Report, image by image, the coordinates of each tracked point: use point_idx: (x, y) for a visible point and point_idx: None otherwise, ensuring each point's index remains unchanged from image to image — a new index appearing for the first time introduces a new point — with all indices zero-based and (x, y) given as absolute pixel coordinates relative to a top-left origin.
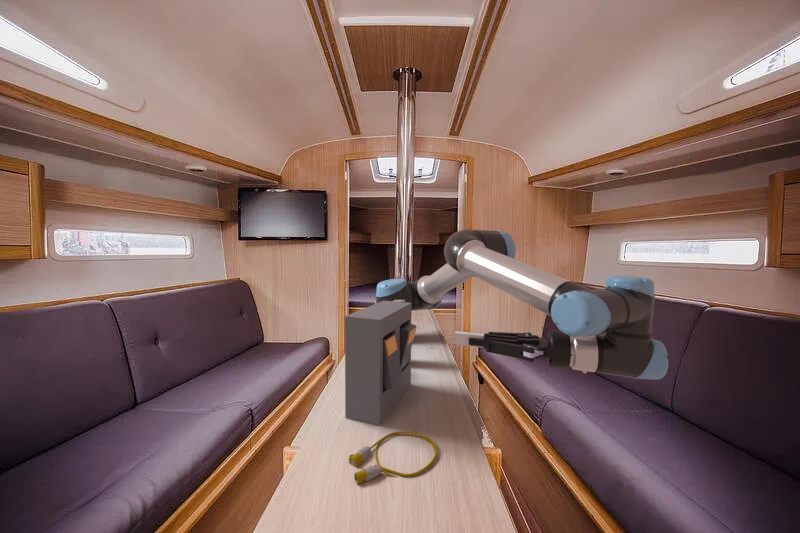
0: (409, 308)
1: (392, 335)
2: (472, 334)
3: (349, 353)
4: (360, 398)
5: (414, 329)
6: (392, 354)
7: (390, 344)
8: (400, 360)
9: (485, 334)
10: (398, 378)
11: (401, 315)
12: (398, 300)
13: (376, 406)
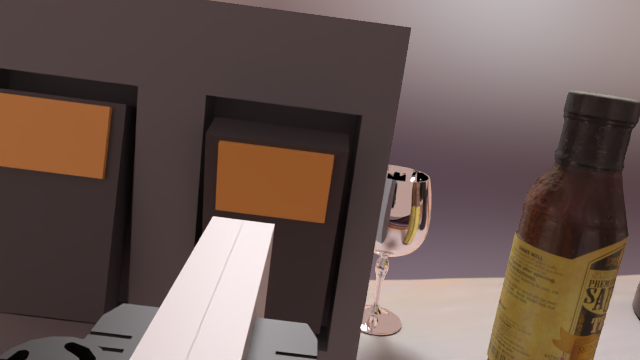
0: (368, 50)
1: (99, 104)
2: (176, 294)
3: None
4: None
5: (294, 156)
6: (50, 181)
7: (37, 126)
8: None
9: (32, 351)
10: (53, 304)
11: (231, 45)
12: (605, 95)
13: None
